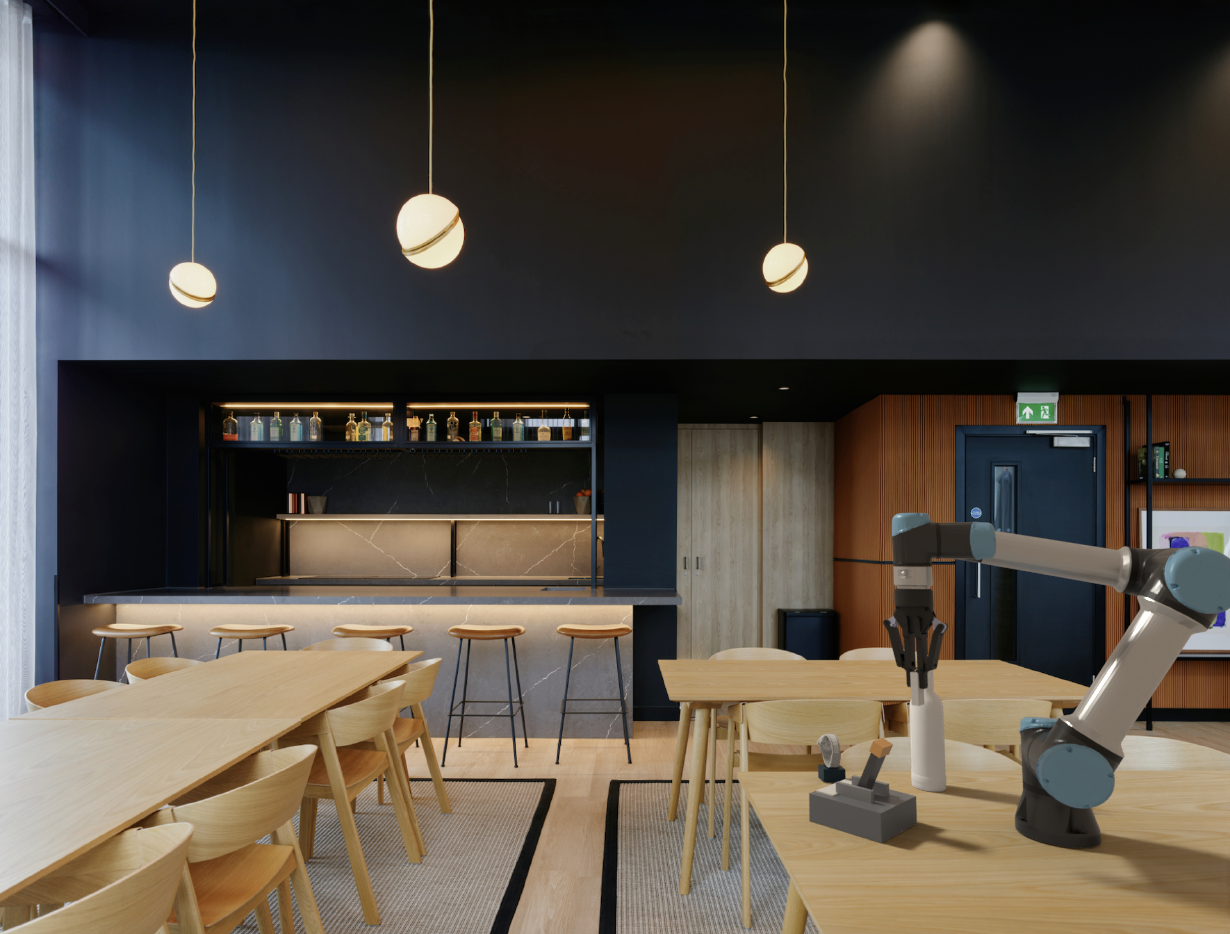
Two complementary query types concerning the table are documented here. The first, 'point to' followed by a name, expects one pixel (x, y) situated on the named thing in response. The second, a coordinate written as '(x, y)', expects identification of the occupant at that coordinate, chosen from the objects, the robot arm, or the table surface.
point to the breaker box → (863, 809)
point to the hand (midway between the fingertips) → (918, 704)
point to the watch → (830, 759)
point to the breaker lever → (874, 762)
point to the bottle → (928, 742)
